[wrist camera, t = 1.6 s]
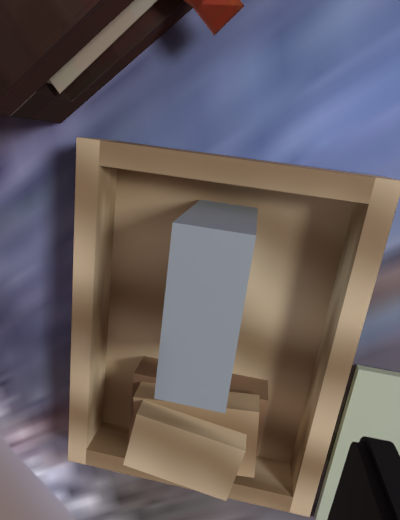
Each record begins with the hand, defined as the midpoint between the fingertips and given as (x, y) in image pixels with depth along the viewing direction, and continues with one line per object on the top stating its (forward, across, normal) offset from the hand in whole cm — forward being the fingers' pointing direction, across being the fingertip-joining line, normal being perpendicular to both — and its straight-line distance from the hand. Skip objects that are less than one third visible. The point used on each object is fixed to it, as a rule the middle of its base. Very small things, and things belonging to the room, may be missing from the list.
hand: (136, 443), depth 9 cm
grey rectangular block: (+14, -1, +1) cm, 14 cm away
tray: (+14, -1, +4) cm, 15 cm away
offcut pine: (+10, 0, +10) cm, 14 cm away
